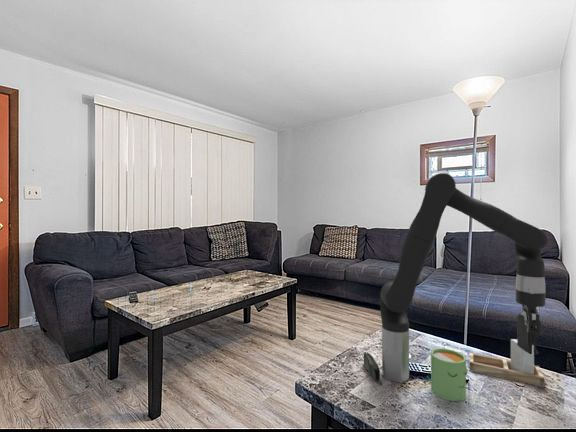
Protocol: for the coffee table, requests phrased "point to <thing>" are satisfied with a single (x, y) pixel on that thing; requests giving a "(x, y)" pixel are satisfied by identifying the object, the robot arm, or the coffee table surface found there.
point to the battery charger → (525, 335)
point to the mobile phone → (372, 367)
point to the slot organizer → (504, 369)
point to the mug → (448, 374)
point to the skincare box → (521, 359)
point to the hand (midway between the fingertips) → (529, 339)
